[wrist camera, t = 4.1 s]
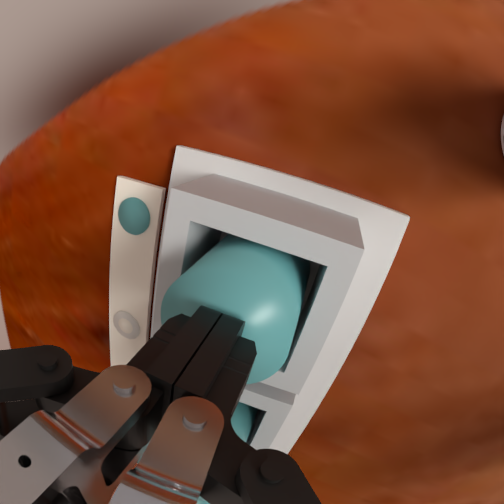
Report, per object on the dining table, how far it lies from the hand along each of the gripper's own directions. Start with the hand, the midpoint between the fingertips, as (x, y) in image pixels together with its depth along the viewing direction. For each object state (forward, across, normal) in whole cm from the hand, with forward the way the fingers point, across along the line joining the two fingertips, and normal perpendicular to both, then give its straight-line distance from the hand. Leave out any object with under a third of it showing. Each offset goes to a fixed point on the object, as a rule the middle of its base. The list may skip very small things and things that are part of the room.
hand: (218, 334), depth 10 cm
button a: (+6, 0, 0) cm, 6 cm away
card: (+7, +8, +8) cm, 13 cm away
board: (+7, 0, +8) cm, 11 cm away
